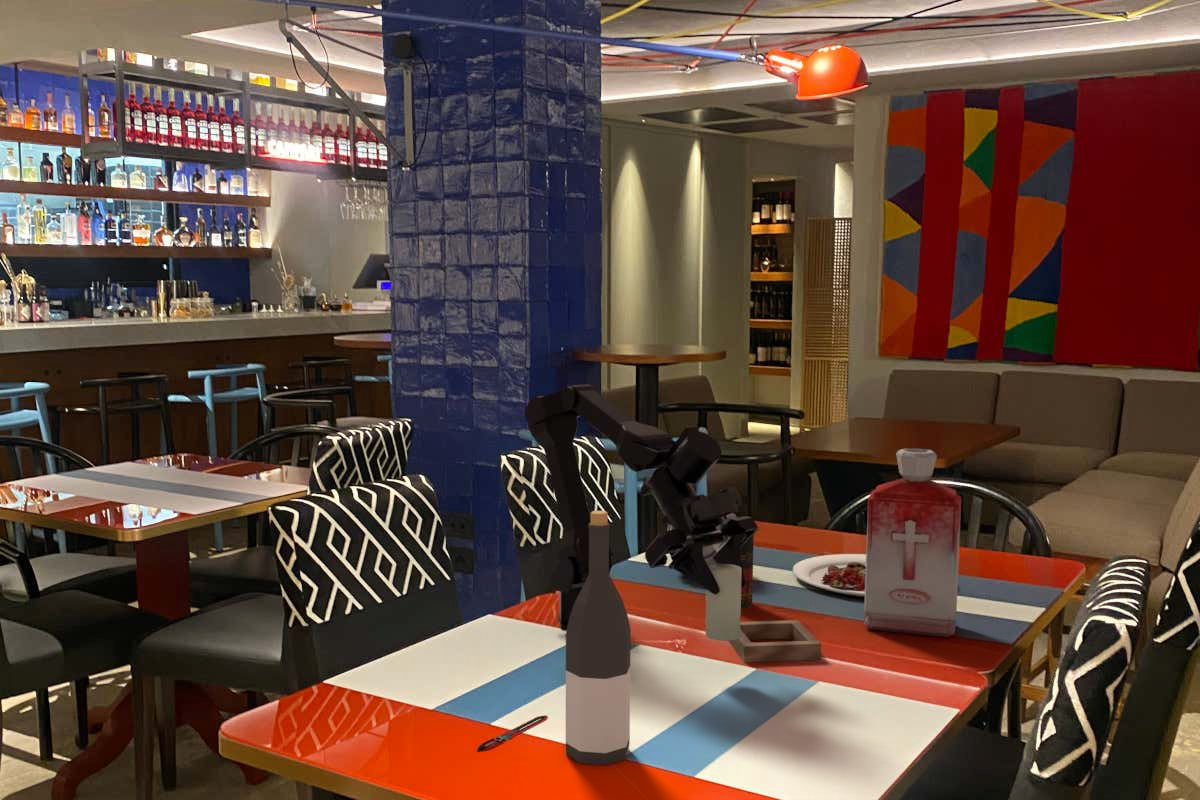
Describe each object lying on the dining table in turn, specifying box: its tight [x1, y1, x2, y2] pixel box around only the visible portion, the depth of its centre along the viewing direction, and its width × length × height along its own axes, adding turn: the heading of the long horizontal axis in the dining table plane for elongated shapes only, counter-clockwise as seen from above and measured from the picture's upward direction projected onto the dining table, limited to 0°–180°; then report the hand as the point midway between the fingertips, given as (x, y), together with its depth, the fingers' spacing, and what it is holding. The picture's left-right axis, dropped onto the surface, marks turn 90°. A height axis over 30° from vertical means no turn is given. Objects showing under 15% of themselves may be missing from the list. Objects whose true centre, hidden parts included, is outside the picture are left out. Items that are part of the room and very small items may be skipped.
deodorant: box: [720, 519, 755, 610], centre depth 202 cm, size 6×6×15 cm
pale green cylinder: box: [705, 564, 742, 642], centre depth 165 cm, size 5×5×10 cm
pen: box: [476, 715, 549, 752], centre depth 145 cm, size 2×14×1 cm, turn 145°
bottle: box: [863, 448, 962, 638], centre depth 189 cm, size 14×10×30 cm
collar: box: [728, 619, 822, 663], centre depth 179 cm, size 12×12×2 cm
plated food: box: [792, 553, 866, 598], centre depth 219 cm, size 30×30×3 cm
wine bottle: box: [565, 510, 631, 766], centre depth 138 cm, size 8×8×30 cm
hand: (730, 589), depth 163 cm, fingers closed on pale green cylinder, 5 cm apart
